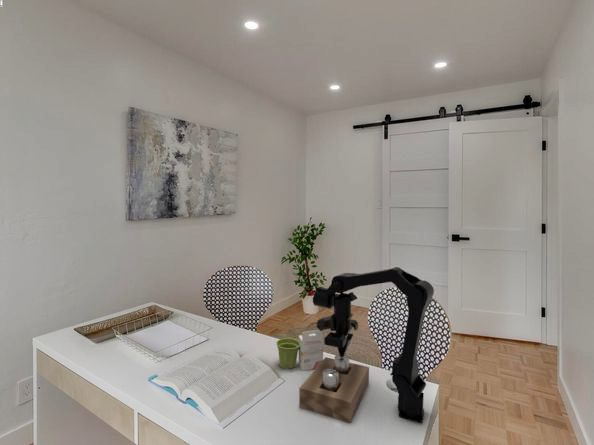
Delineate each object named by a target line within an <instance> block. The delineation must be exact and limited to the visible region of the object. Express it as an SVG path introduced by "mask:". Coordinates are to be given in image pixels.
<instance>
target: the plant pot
mask: <svg viewBox="0 0 594 445" xmlns="http://www.w3.org/2000/svg"><path fill="white" fill-rule="evenodd" d="M275 344H276V346H277V351H278V360H279V366H280V367H281V368H282V369H288V370H289V369H292V368H295V367H296V363H297V358H298V355H299V347H300V345H299V339H296V338H292V337H283V338H280V339H277V340H276V342H275Z"/></svg>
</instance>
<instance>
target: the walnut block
mask: <svg viewBox="0 0 594 445" xmlns="http://www.w3.org/2000/svg"><path fill="white" fill-rule="evenodd" d="M326 369H334V370H335V358H331V357H327V356H325V357H323V361H322V362H321V363H320V364H319V365H318V367H317V368H316V369H313V371H312V373H311V374H310V375H309V376H308V377H307V378H306V379H305V381H304V382H303V383H302V384H301V386H300V387H299V390H298V391H299V399H298V401H299V404H298V405H299V408H301V409H304V410H307V411H310V412H313V413H317V414H320V415H323V416H326V417H330V418H333V419H336V420H340V421H342V422H346V423H349V424H351V423H352V422H353V418H355V415H356V412H357V410H358V408H359V406H360V403H361V401H362V400H363V398H364V395H365V393H366V391H367V389H368V386H369V385H370V366H367V365H361V364H358V363H352V362H349V373H348V375H345V374H341V373H339V379H338V391H337V392H332V391H328V390H325V389H323V371H324V370H326Z"/></svg>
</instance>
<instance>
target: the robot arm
mask: <svg viewBox="0 0 594 445" xmlns="http://www.w3.org/2000/svg"><path fill="white" fill-rule="evenodd" d="M384 283H385V284H387V283H392V284H393V285H394V286H396V288H397V289H398V290H399V291H400V292H401V293H402V294H404V295H405V296H406V304H407V309H408V315H407V321H406V326H405V332H404V338H403V343H402V349H401V355H398V356H397V357H396V358H395V359H394V360H393V362H392V368H391V369H392V370H391V373H390V374H389V375H390V376H392V377H391V380H392V383H393V384H394V386H395V387H396V390H397V394H398V397H397V411H398V416H399V417H400V418H403V419H406V420H411V421H413V422H418V423H421V424H422V423H423V422H424V413H425V408H424V402H425V401H424V398H425V393H424V392H423V391H424V390H425V388H426V385H427V383H426V382H425V380H424V379H423V378H422V377H421V374H419V362H418V352H419V347H420V341H421V337H422V336H421V335H422V330H423V325H424V319H425V314H426V311H427V309H428V308H429V305H430V303H431V301H432V299H433V296H434V293H435V289H434V287H433V285H432V284H431V283H430V282H429V281H426V280H422V279H421V278H419V277H417V276H416V275H413V274H412V273H409V272H407V271H405V270H404V269H402V268H401V267H398V266H395V267H393V268H388V269H382V270H376V271H370V272H364V273H355V272H343V273H341V274H338V275H335V276H333V277H332V279H331V282H330V284H329V286H328V288H327V287H326V288H325V287H323V286H317V287H316V290H315V292H314V294H313V297H312V303H313V305H314V306H315V307H318V308H319V307H320V308H325V309H328V310H329V309H330V310H331V309H332V308H333V313H332V314H331V315H330V316H325V317H321V318H319V319H318V320H317V321H316V328H317V329H318V330H320V331H322V332H323V331H325V330H329V329H330V332H329V333H327V334H326V336H324V337H323V345H326V346H329V347H333V348H337V350H338V354H339V355H340V357H344V355H346V352H347V351H348V348H349V346H350V343H351V341H352V340H353V337H354V334H353V333H351V331H352V330H354V331H357V330H358V329H359V322H358V321H357V320H356V319H352V318H353V315H354V314H353V313H352V302H354V301H356V300H358V296H357V295H355V293H354V292H353V291H351V292H349V293H346V292H348V291H350V290H353V289H356V288H359V287H365V286H372V285H379V284H380V285H381V284H384Z"/></svg>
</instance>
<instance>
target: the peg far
mask: <svg viewBox="0 0 594 445" xmlns="http://www.w3.org/2000/svg"><path fill="white" fill-rule="evenodd" d="M334 359H335V370H336V371H338V373H341V374H345V375H348V373H349V363H350V356H348V355H346V354H345V355H344V357H340V355H339V353H338V354H336V355H334Z"/></svg>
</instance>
